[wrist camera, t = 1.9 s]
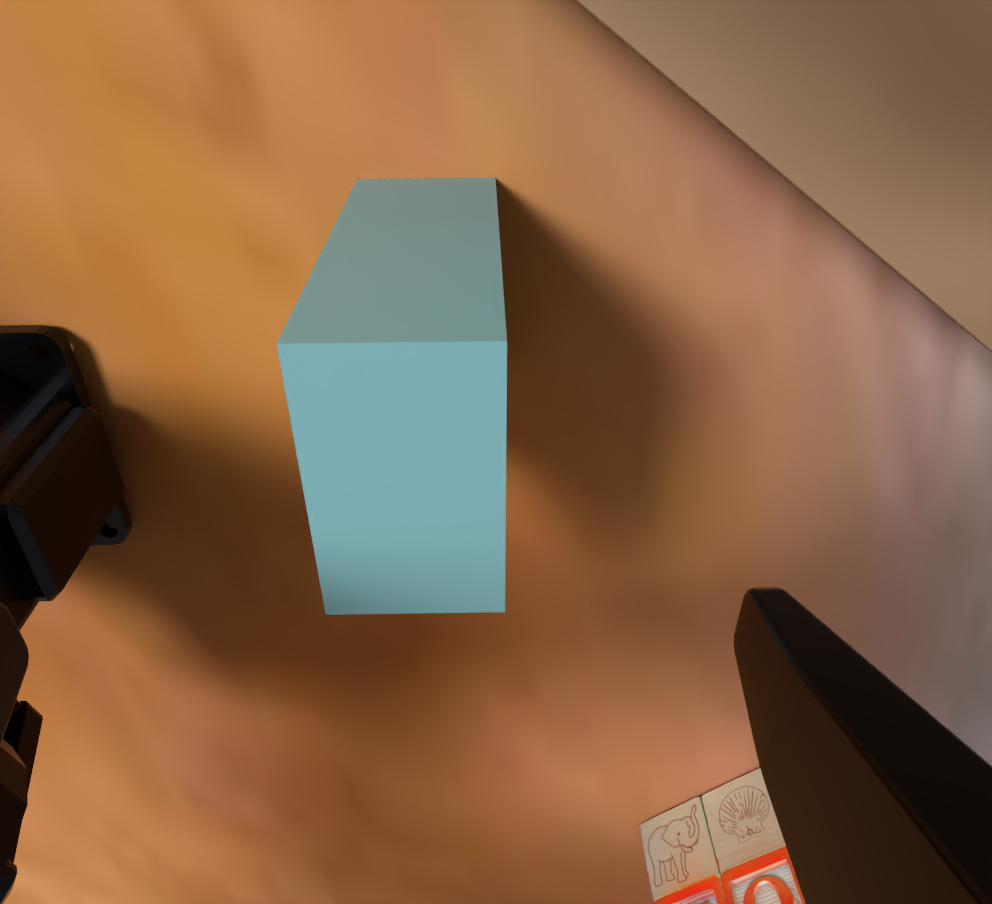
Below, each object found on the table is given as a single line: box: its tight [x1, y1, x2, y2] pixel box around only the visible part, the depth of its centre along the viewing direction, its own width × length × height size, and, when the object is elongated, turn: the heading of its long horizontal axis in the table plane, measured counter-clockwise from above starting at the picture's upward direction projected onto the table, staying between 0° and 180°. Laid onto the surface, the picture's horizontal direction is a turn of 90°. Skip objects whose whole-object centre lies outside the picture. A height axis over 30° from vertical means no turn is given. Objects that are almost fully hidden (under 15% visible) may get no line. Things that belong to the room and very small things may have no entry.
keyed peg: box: [277, 178, 507, 615], centre depth 15 cm, size 3×5×8 cm, turn 0°
